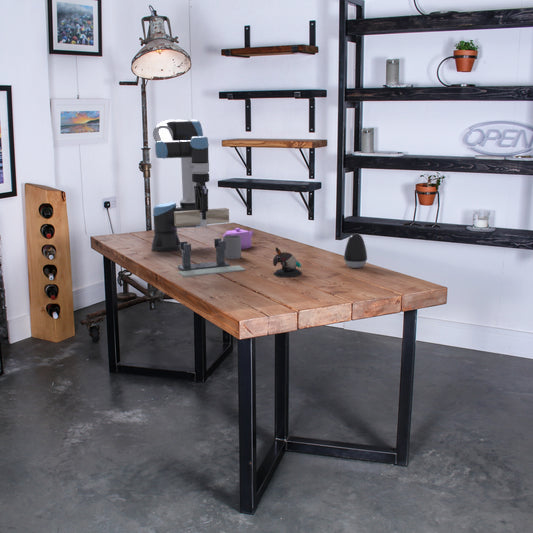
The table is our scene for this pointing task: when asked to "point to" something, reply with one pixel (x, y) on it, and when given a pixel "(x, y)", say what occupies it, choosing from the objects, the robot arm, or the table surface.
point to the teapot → (244, 237)
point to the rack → (188, 266)
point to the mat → (211, 271)
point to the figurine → (286, 264)
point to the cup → (232, 247)
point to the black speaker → (355, 252)
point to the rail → (194, 217)
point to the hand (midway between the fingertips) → (202, 225)
